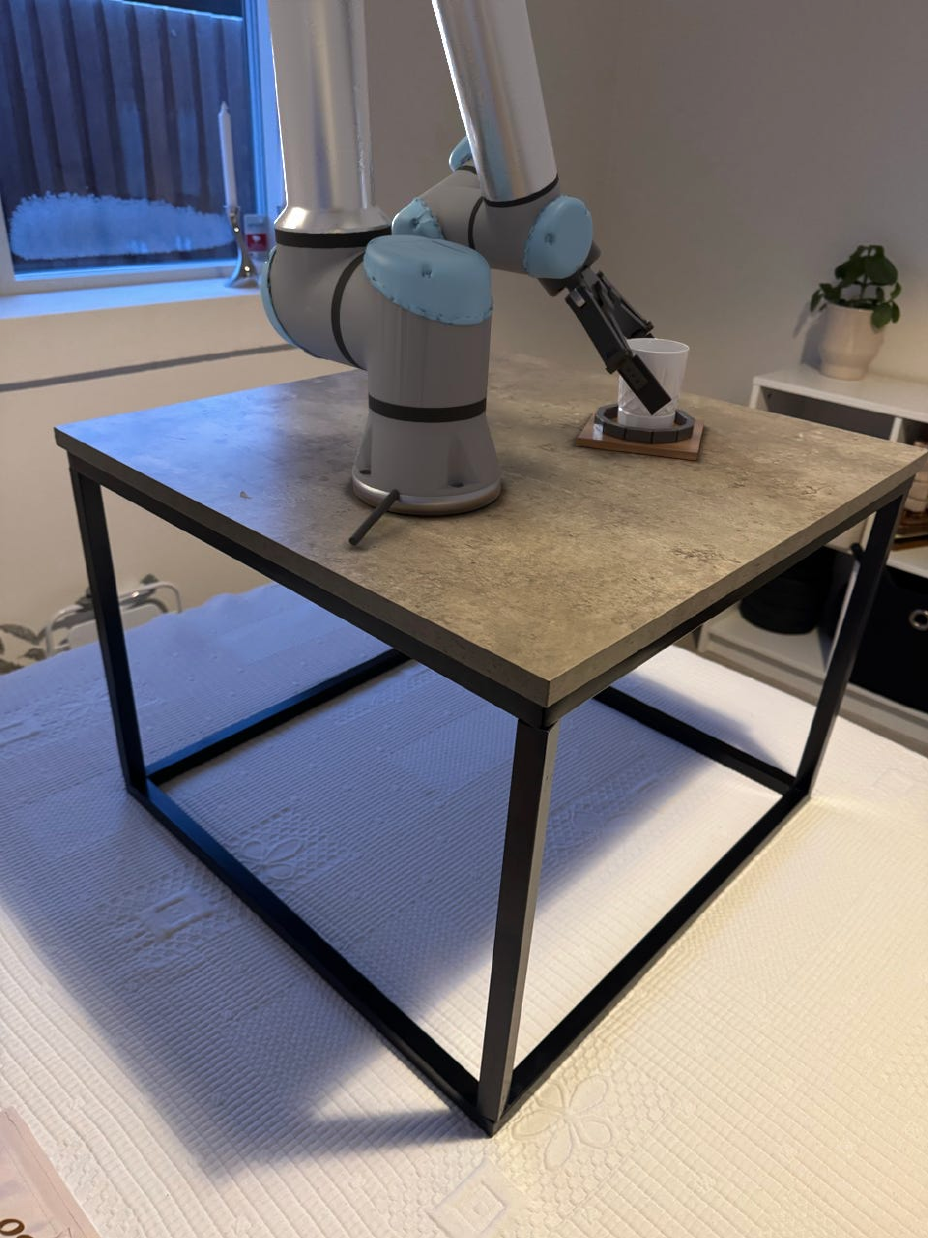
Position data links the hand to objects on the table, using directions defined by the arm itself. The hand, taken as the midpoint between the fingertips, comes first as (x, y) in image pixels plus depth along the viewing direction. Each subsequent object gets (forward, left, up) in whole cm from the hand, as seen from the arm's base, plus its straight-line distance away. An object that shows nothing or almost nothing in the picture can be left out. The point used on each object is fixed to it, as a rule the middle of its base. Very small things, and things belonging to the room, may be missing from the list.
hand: (667, 393), depth 103 cm
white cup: (0, +2, -5) cm, 5 cm away
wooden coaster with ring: (0, +2, -6) cm, 6 cm away
